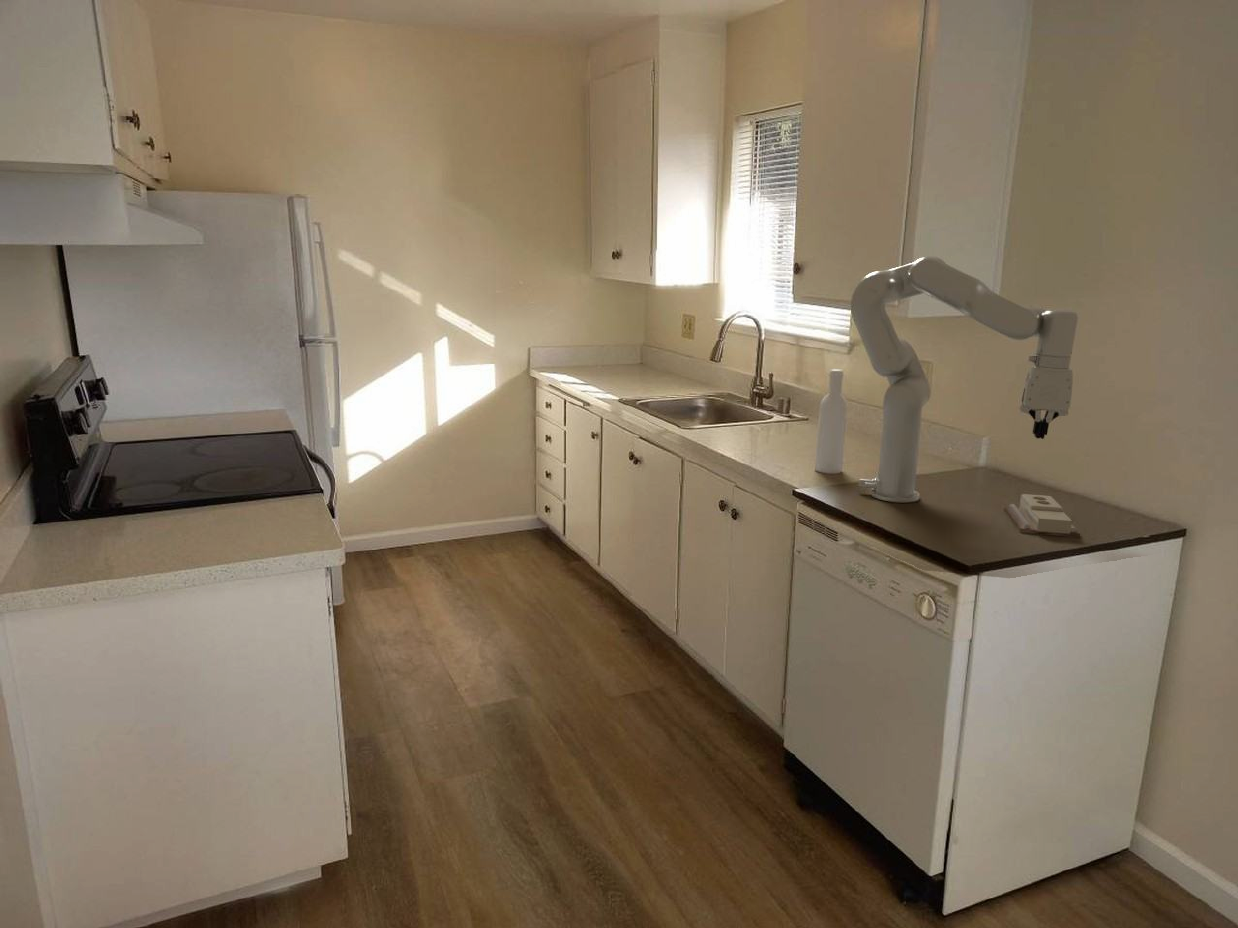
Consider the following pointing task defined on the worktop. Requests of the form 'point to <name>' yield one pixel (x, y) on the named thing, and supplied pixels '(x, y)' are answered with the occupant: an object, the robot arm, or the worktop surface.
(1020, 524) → the rail board
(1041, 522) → the electrical outlet
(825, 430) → the bottle
